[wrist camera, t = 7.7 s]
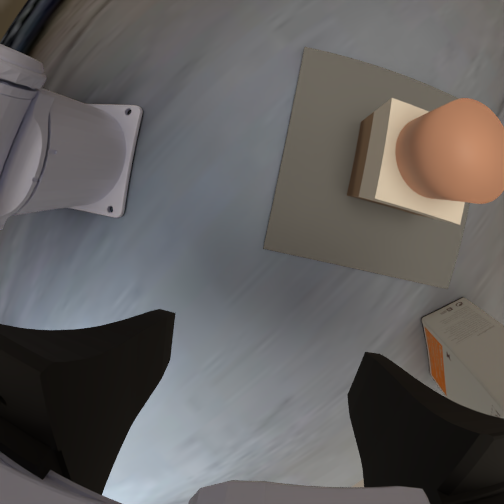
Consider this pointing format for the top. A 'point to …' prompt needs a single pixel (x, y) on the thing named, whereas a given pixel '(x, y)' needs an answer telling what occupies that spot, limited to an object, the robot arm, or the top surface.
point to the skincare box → (467, 356)
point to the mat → (339, 172)
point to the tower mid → (386, 170)
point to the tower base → (363, 162)
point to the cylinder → (453, 153)
